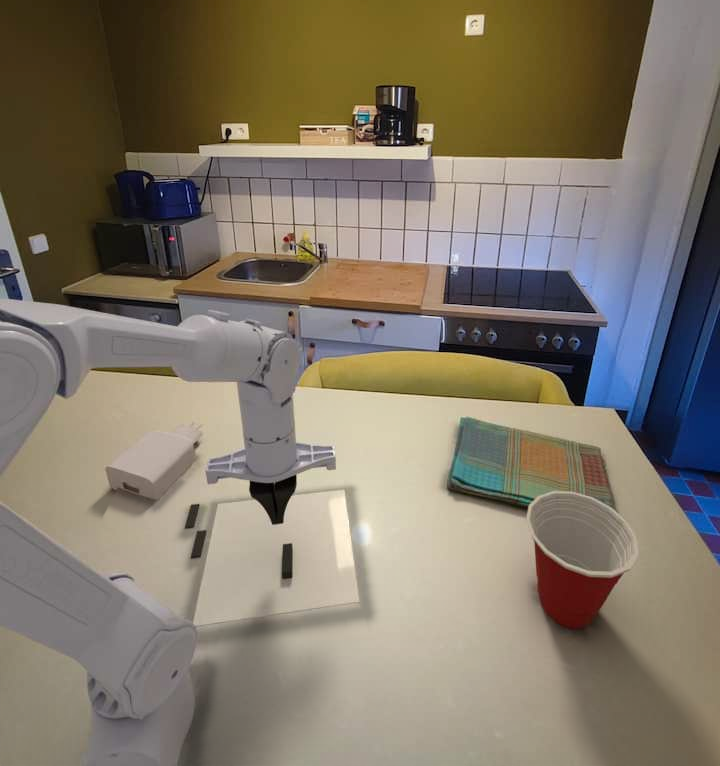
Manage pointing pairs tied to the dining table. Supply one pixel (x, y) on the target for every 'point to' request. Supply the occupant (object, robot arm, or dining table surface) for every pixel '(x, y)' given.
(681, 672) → the dining table surface
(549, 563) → the plastic cup
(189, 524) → the ink strip
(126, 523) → the dining table surface
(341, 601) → the whiteboard
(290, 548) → the ink strip
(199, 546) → the ink strip
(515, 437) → the dish towel
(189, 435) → the charger
